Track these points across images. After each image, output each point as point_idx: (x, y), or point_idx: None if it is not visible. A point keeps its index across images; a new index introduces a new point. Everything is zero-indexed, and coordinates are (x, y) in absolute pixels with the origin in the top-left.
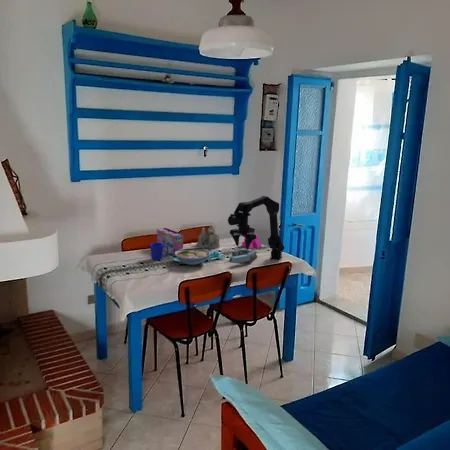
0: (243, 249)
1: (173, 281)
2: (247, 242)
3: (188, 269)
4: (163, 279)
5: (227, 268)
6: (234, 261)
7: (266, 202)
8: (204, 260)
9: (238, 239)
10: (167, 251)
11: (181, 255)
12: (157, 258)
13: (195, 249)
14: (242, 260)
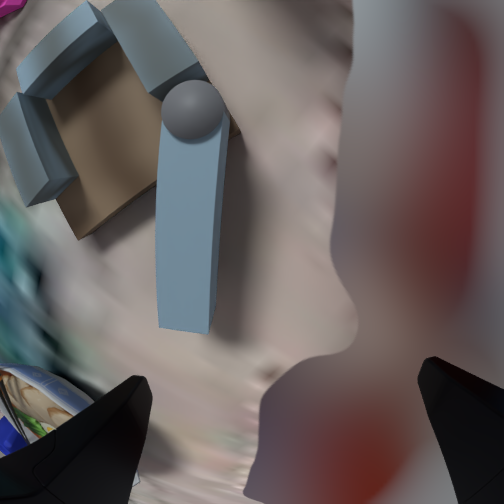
0: (34, 73)
1: (235, 499)
2: (497, 479)
3: (143, 449)
4: (204, 501)
5: (221, 347)
6: (212, 315)
7: None
8: None
9: (77, 471)
10: (18, 434)
11: None
12: None
13: (11, 403)
14: (219, 220)
